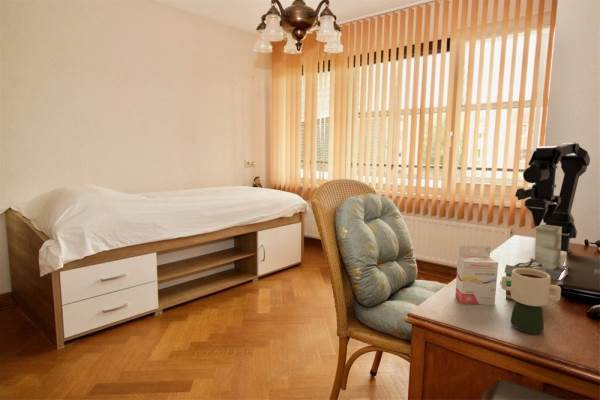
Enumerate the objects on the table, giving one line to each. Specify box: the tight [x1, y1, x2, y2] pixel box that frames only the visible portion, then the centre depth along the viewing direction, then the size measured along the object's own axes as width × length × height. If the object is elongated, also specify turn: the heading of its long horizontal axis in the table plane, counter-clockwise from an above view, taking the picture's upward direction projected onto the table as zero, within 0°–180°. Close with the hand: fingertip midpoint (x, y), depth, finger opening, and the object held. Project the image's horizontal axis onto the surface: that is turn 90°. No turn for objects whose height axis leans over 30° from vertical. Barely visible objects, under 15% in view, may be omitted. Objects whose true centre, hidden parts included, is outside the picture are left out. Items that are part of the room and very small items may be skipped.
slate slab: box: [545, 265, 567, 282], centre depth 110 cm, size 9×9×3 cm
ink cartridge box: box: [455, 245, 499, 306], centre depth 90 cm, size 9×5×15 cm, turn 84°
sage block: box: [534, 224, 562, 270], centre depth 109 cm, size 5×5×13 cm
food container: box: [504, 257, 546, 303], centre depth 90 cm, size 12×6×10 cm, turn 117°
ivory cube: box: [560, 251, 568, 266], centre depth 118 cm, size 5×5×5 cm
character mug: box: [500, 268, 562, 334], centre depth 76 cm, size 11×7×13 cm, turn 52°
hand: (541, 224), depth 124 cm, fingers open, 9 cm apart
